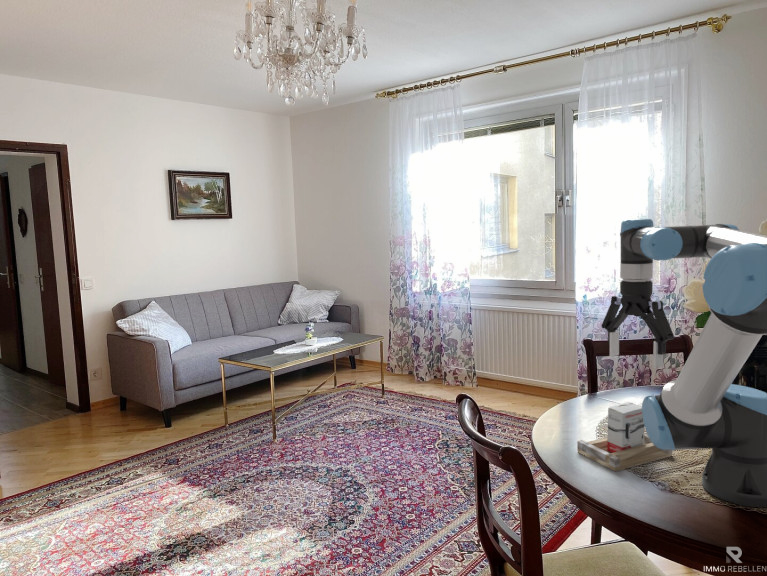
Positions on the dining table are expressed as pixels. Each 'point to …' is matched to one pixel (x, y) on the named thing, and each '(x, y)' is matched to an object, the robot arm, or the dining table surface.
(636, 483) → the dining table surface
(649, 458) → the wooden tray
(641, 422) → the ink box
